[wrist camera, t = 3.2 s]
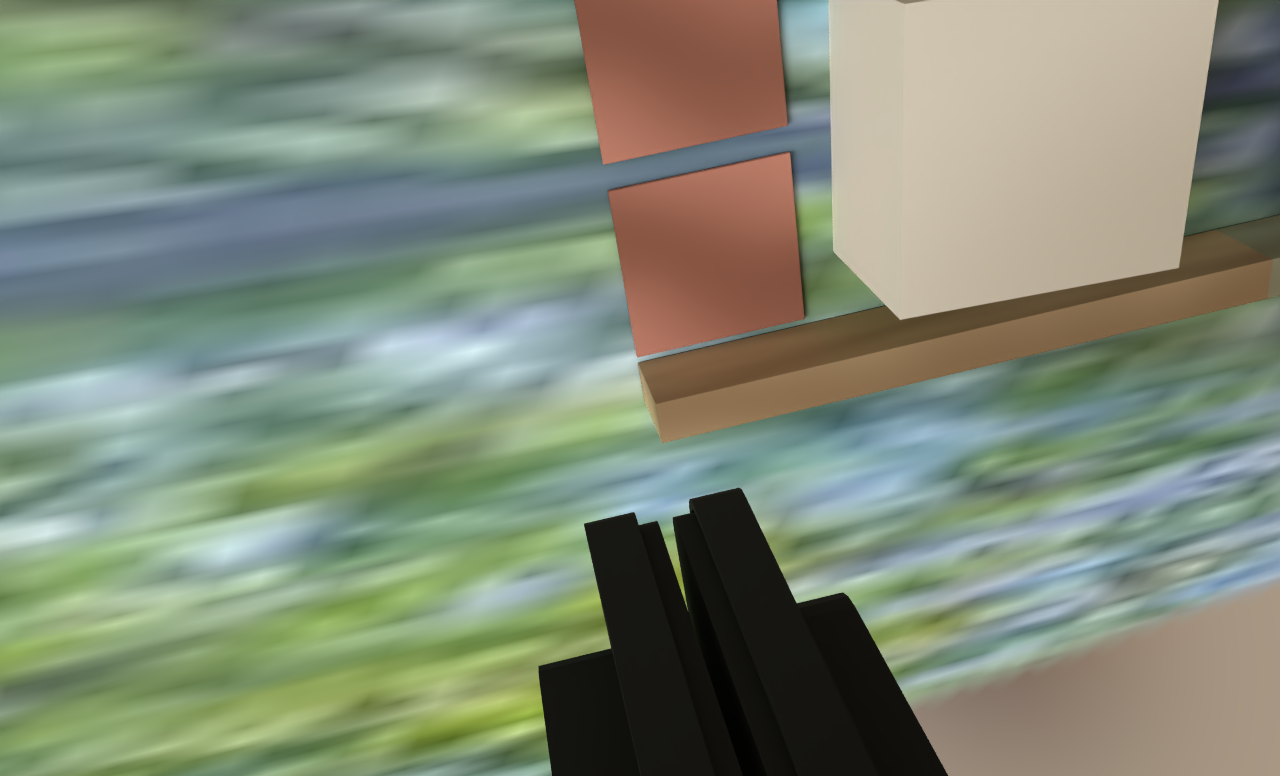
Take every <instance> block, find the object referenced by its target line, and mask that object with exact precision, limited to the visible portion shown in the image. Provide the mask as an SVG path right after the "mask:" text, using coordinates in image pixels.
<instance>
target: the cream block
mask: <svg viewBox="0 0 1280 776" xmlns="http://www.w3.org/2000/svg"><path fill="white" fill-rule="evenodd" d="M1218 1H1219V0H829V49H830V102H831V155H832V208H833V252H834V253H835V254H836V255H837V256H838V257H839V258H840V259H841V260H842V261H843V262H844V263H845V264H846V265H847V266H848V267H849V268H850V269H851V270H852V271H853V272H854V273H855V274H856V275H857V276H858V277H859V278H860V279H861V280H862V281H863V282H864V283H865V284H866V285H867V286H868V287H869V288H870V289H871V290H872V292H873V293H874V294H875V295H876V296H877V297H878V298H879V299H880V300H881V301H882V302H883V303H884V304H885V305H886V306H887V307H888V308H889V309H890V310H891V311H892V312H893V313H894V314H895V315H896V316H897V317H898V318H899V319H900V320H902V319H907V318H912V317H918V316H923V315H929V314H934V313H939V312H945V311H950V310H955V309H961V308H966V307H972V306H977V305H982V304H988V303H993V302H998V301H1004V300H1009V299H1015V298H1020V297H1025V296H1031V295H1036V294H1041V293H1047V292H1052V291H1058V290H1063V289H1068V288H1074V287H1079V286H1084V285H1090V284H1095V283H1101V282H1106V281H1111V280H1117V279H1122V278H1127V277H1133V276H1138V275H1144V274H1149V273H1154V272H1160V271H1165V270H1170V269H1176V268H1179V263H1180V256H1181V249H1182V243H1183V236H1184V229H1185V223H1186V216H1187V209H1188V202H1189V196H1190V189H1191V182H1192V176H1193V169H1194V162H1195V156H1196V149H1197V142H1198V135H1199V129H1200V122H1201V115H1202V109H1203V102H1204V95H1205V88H1206V82H1207V75H1208V68H1209V62H1210V55H1211V48H1212V41H1213V35H1214V28H1215V21H1216V15H1217V8H1218Z"/></svg>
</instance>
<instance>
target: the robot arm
mask: <svg viewBox="0 0 1280 776" xmlns="http://www.w3.org/2000/svg"><path fill="white" fill-rule="evenodd" d="M689 509H690V513H689V514H685V515H681V516H676V517H673V526H674V532H675V538H676V543H677V549H678V555H679V561H680V567H681V572H682V578H683V584H684V590H685V595H686V601H687V607H688V610H687V607H686V604H685V601H684V598H683V595H682V592H681V589H680V586H679V583H678V580H677V577H676V574H675V571H674V568H673V565H672V562H671V559H670V556H669V553H668V550H667V547H666V544H665V541H664V538H663V535H662V532H661V529H660V527H659V524H658V522H657V521H655V522H651V523H646V524H642V525H638V522H637V519H636V516H635V513H634V512H632V513H628V514H624V515H619V516H615V517H611V518H607V519H602V520H598V521H594V522H589V523H585V524H584V527H585V531H586V536H587V540H588V545H589V549H590V554H591V558H592V563H593V567H594V572H595V576H596V581H597V585H598V590H599V594H600V599H601V604H602V608H603V613H604V617H605V622H606V626H607V631H608V635H609V640H610V644H611V649H607V650H603V651H599V652H595V653H591V654H587V655H582V656H578V657H574V658H570V659H566V660H562V661H558V662H553V663H549V664H545V665H541V666H539V680H540V688H541V696H542V703H543V711H544V718H545V726H546V733H547V741H548V748H549V756H550V763H551V771H552V776H948V775H947V773H946V771H945V769H944V767H943V765H942V764H941V762H940V760H939V759H938V756H937V755H936V753H935V751H934V749H933V747H932V745H931V744H930V742H929V740H928V739H927V736H926V735H925V733H924V731H923V729H922V727H921V726H920V724H919V722H918V720H917V718H916V717H915V715H914V713H913V711H912V709H911V707H910V706H909V704H908V702H907V700H906V698H905V696H904V695H903V693H902V691H901V689H900V687H899V686H898V684H897V682H896V680H895V678H894V677H893V675H892V673H891V671H890V669H889V667H888V666H887V664H886V662H885V660H884V658H883V657H882V655H881V653H880V651H879V649H878V648H877V646H876V644H875V642H874V640H873V638H872V637H871V635H870V633H869V631H868V629H867V628H866V626H865V624H864V622H863V620H862V618H861V617H860V615H859V613H858V611H857V609H856V608H855V606H854V604H853V603H852V601H851V600H850V598H849V597H848V596H847V595H846V594H844V593H843V592H842V593H838V594H834V595H830V596H826V597H822V598H818V599H813V600H809V601H805V602H801V603H796V601H795V599H794V597H793V595H792V593H791V591H790V589H789V587H788V584H787V582H786V580H785V578H784V576H783V574H782V572H781V570H780V568H779V566H778V564H777V561H776V559H775V557H774V555H773V553H772V551H771V549H770V547H769V545H768V543H767V541H766V538H765V536H764V534H763V532H762V530H761V528H760V526H759V524H758V522H757V520H756V518H755V515H754V513H753V511H752V509H751V507H750V505H749V503H748V501H747V499H746V497H745V495H744V493H743V491H742V489H740V488H736V489H731V490H727V491H723V492H718V493H714V494H710V495H705V496H701V497H697V498H693V499H690V500H689Z"/></svg>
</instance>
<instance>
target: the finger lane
mask: <svg viewBox="0 0 1280 776" xmlns="http://www.w3.org/2000/svg"><path fill="white" fill-rule="evenodd" d="M574 1H575V6H576V12H577V18H578V24H579V29H580V35H581V41H582V47H583V52H584V58H585V64H586V69H587V75H588V81H589V87H590V92H591V98H592V104H593V109H594V115H595V121H596V127H597V132H598V138H599V144H600V150H601V155H602V161H603V164H609V163H613V162H618V161H623V160H627V159H632V158H637V157H642V156H646V155H651V154H656V153H660V152H665V151H670V150H675V149H679V148H684V147H689V146H694V145H698V144H703V143H708V142H712V141H717V140H722V139H727V138H731V137H736V136H741V135H745V134H750V133H755V132H760V131H764V130H769V129H774V128H778V127H783V126H788V124H787V112H786V101H785V89H784V78H783V66H782V54H781V43H780V31H779V20H778V8H777V0H574ZM608 195H609V201H610V207H611V212H612V218H613V224H614V230H615V235H616V241H617V247H618V252H619V258H620V264H621V270H622V275H623V281H624V287H625V293H626V298H627V304H628V310H629V315H630V321H631V327H632V333H633V338H634V344H635V350H636V355H637V357H641V356H645V355H650V354H654V353H658V352H663V351H667V350H671V349H676V348H680V347H684V346H689V345H693V344H697V343H702V342H706V341H710V340H715V339H719V338H723V337H728V336H732V335H736V334H741V333H745V332H750V331H754V330H758V329H763V328H767V327H771V326H776V325H780V324H784V323H789V322H793V321H797V320H802V319H804V309H803V298H802V286H801V275H800V263H799V251H798V240H797V228H796V217H795V205H794V193H793V182H792V170H791V159H790V152H784V153H780V154H775V155H770V156H766V157H761V158H756V159H752V160H747V161H742V162H738V163H733V164H728V165H724V166H719V167H714V168H710V169H705V170H700V171H696V172H691V173H686V174H682V175H677V176H672V177H668V178H663V179H658V180H654V181H649V182H644V183H640V184H635V185H630V186H626V187H621V188H616V189H612V190H608ZM1277 296H1280V215H1277V216H1273V217H1269V218H1264V219H1260V220H1256V221H1251V222H1247V223H1243V224H1238V225H1234V226H1230V227H1225V228H1221V229H1217V230H1212V231H1208V232H1204V233H1199V234H1195V235H1191V236H1186V237H1183V243H1182V249H1181V256H1180V263H1179V268H1176V269H1170V270H1165V271H1160V272H1154V273H1149V274H1144V275H1138V276H1133V277H1127V278H1122V279H1117V280H1111V281H1106V282H1101V283H1095V284H1090V285H1084V286H1079V287H1074V288H1068V289H1063V290H1058V291H1052V292H1047V293H1041V294H1036V295H1031V296H1025V297H1020V298H1015V299H1009V300H1004V301H998V302H993V303H988V304H982V305H977V306H972V307H966V308H961V309H955V310H950V311H945V312H939V313H934V314H929V315H923V316H918V317H912V318H907V319H902V320H900V319H899V318H898V317H897V316H896V315H895V314H894V313H893V312H892V311H891V310H890V309H889V308H888V307H887V306H883V307H878V308H874V309H870V310H865V311H861V312H857V313H852V314H848V315H844V316H839V317H835V318H831V319H826V320H822V321H818V322H813V323H809V324H805V325H800V326H796V327H792V328H787V329H783V330H779V331H774V332H770V333H766V334H761V335H757V336H753V337H748V338H744V339H740V340H735V341H731V342H727V343H722V344H718V345H714V346H709V347H705V348H701V349H696V350H692V351H688V352H683V353H679V354H675V355H670V356H666V357H662V358H657V359H653V360H649V361H644V362H640V363H638V367H639V373H640V378H641V384H642V390H643V395H644V400H645V403H646V405H647V408H648V410H649V412H650V415H651V417H652V420H653V422H654V424H655V427H656V429H657V432H658V434H659V436H660V439H661V441H662V443H664V442H669V441H673V440H677V439H681V438H685V437H690V436H694V435H698V434H702V433H706V432H711V431H715V430H719V429H723V428H727V427H732V426H736V425H740V424H744V423H748V422H753V421H757V420H761V419H765V418H769V417H774V416H778V415H782V414H786V413H790V412H794V411H799V410H803V409H807V408H811V407H815V406H820V405H824V404H828V403H832V402H836V401H841V400H845V399H849V398H853V397H857V396H862V395H866V394H870V393H874V392H878V391H883V390H887V389H891V388H895V387H899V386H904V385H908V384H912V383H916V382H920V381H924V380H929V379H933V378H937V377H941V376H945V375H950V374H954V373H958V372H962V371H966V370H971V369H975V368H979V367H983V366H987V365H992V364H996V363H1000V362H1004V361H1008V360H1013V359H1017V358H1021V357H1025V356H1029V355H1034V354H1038V353H1042V352H1046V351H1050V350H1054V349H1059V348H1063V347H1067V346H1071V345H1075V344H1080V343H1084V342H1088V341H1092V340H1096V339H1101V338H1105V337H1109V336H1113V335H1117V334H1122V333H1126V332H1130V331H1134V330H1138V329H1143V328H1147V327H1151V326H1155V325H1159V324H1164V323H1168V322H1172V321H1176V320H1180V319H1184V318H1189V317H1193V316H1197V315H1201V314H1205V313H1210V312H1214V311H1218V310H1222V309H1226V308H1231V307H1235V306H1239V305H1243V304H1247V303H1252V302H1256V301H1260V300H1264V299H1268V298H1273V297H1277Z"/></svg>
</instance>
